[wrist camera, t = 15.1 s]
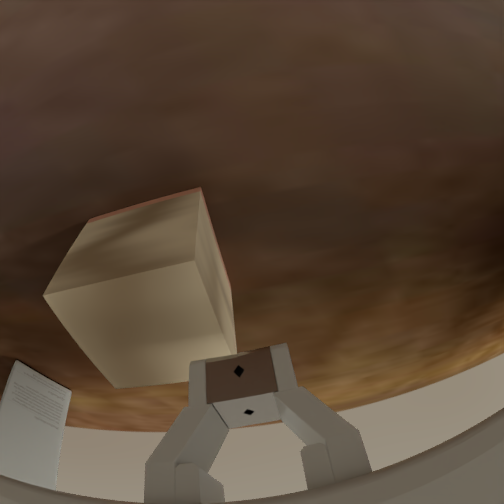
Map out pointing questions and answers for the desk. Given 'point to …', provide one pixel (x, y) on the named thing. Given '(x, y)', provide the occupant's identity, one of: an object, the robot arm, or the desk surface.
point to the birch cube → (147, 291)
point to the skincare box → (32, 426)
